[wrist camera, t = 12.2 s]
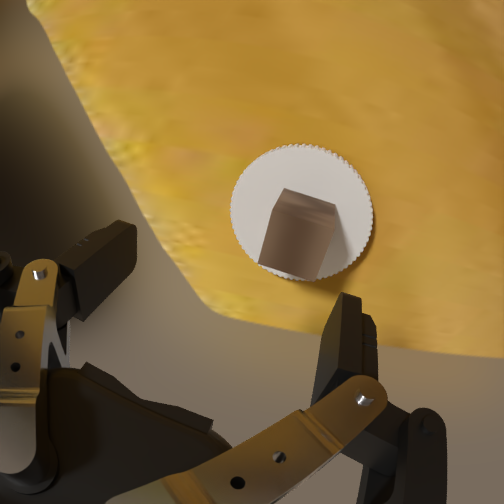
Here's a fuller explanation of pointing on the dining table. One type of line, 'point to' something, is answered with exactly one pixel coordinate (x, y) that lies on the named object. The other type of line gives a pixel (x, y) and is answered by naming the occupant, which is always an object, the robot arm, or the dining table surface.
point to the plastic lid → (309, 183)
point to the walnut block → (298, 234)
